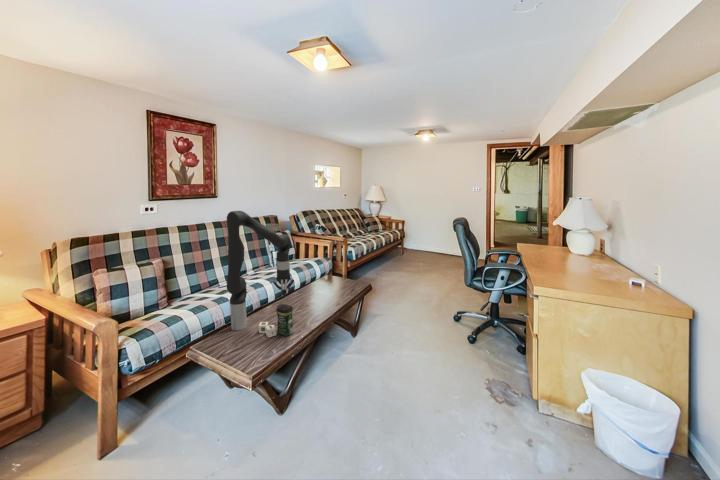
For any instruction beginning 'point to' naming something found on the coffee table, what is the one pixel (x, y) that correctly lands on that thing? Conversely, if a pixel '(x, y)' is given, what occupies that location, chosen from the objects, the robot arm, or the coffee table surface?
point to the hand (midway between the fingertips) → (284, 295)
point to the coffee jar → (284, 319)
